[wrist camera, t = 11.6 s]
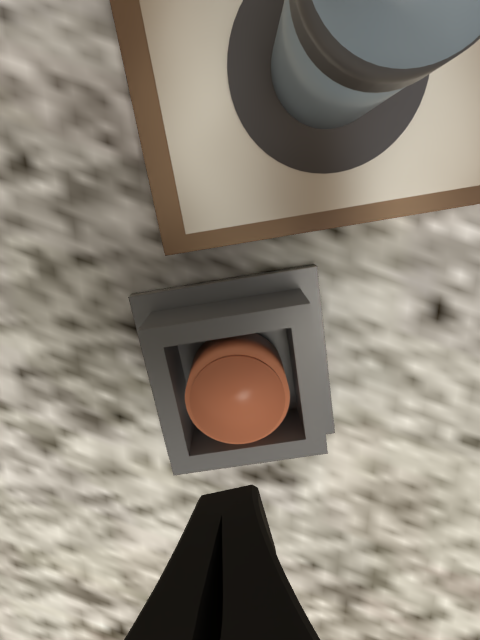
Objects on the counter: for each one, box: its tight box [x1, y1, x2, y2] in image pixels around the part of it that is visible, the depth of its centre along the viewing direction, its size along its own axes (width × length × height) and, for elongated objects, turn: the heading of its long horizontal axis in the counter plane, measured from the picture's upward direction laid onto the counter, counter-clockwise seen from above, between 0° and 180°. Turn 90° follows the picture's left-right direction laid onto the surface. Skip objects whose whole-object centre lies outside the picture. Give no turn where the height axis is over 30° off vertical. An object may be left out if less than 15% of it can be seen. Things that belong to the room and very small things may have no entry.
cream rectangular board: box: [110, 0, 480, 256], centre depth 14 cm, size 14×11×1 cm
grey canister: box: [271, 0, 480, 129], centre depth 10 cm, size 4×4×7 cm
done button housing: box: [129, 265, 335, 475], centre depth 17 cm, size 8×8×3 cm
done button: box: [185, 333, 290, 444], centre depth 16 cm, size 4×4×2 cm
